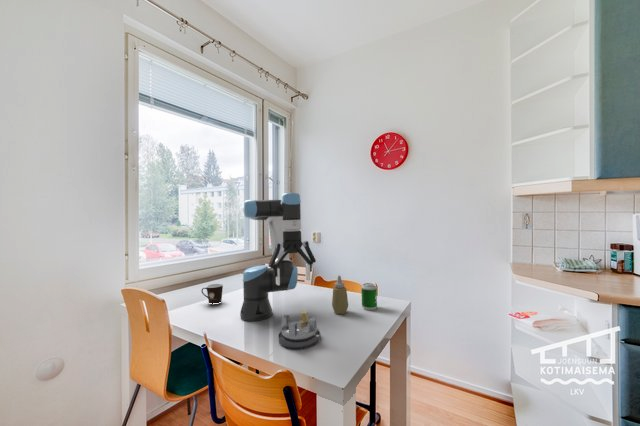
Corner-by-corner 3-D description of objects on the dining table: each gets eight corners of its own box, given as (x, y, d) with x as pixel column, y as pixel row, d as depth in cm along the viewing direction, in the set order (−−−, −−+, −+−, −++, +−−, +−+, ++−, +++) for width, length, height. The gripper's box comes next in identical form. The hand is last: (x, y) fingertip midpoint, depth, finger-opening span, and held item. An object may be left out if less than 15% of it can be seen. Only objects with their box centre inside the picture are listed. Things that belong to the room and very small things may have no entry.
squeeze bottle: (347, 316, 123) (346, 277, 123) (330, 315, 125) (329, 277, 125) (349, 309, 131) (348, 274, 131) (333, 309, 133) (332, 273, 133)
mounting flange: (271, 346, 97) (270, 340, 97) (289, 328, 112) (289, 323, 112) (311, 352, 92) (311, 346, 92) (325, 332, 107) (324, 326, 107)
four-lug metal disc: (275, 339, 97) (274, 323, 97) (290, 324, 110) (290, 310, 110) (309, 343, 93) (309, 326, 93) (321, 327, 106) (320, 312, 106)
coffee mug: (226, 302, 148) (226, 284, 148) (213, 307, 141) (212, 288, 141) (213, 299, 155) (213, 282, 155) (200, 303, 147) (199, 285, 147)
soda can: (374, 312, 127) (373, 287, 127) (359, 309, 131) (358, 285, 131) (379, 307, 134) (378, 283, 134) (365, 304, 138) (364, 282, 138)
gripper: (265, 232, 99) (266, 289, 98) (322, 229, 110) (324, 279, 110) (259, 231, 105) (261, 284, 105) (314, 228, 117) (316, 276, 117)
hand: (293, 282), depth 108 cm, fingers open, 13 cm apart
